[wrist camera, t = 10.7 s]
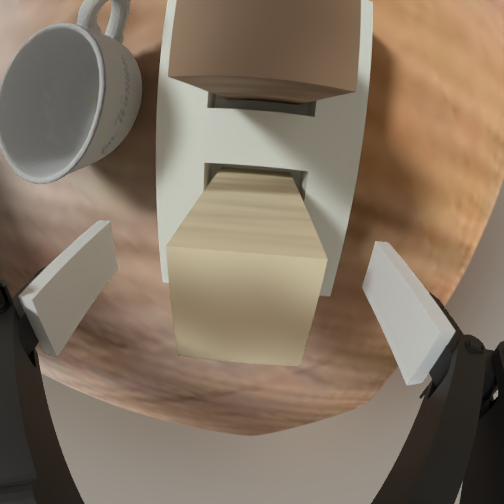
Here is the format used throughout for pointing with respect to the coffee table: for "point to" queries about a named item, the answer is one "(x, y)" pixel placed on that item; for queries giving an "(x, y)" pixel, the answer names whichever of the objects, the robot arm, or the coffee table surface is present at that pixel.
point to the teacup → (69, 95)
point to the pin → (245, 270)
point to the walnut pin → (267, 48)
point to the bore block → (261, 147)
